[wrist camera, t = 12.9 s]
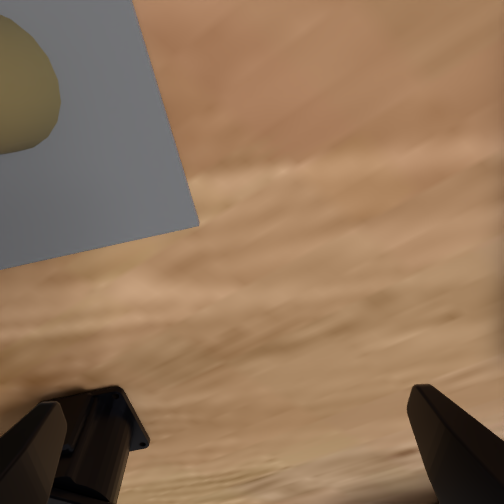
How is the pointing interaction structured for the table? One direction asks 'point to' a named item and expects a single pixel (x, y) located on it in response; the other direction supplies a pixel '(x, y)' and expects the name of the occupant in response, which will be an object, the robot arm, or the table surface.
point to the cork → (25, 90)
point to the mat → (92, 140)
